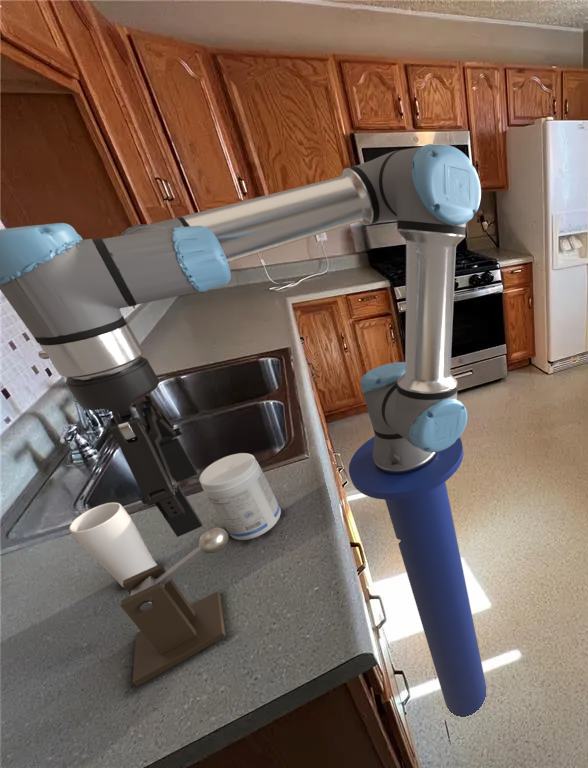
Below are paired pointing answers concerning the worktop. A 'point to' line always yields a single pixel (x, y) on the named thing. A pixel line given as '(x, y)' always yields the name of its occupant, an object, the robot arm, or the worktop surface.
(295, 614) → the worktop surface
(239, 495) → the supplement tub
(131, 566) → the white tapered cylinder
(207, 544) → the tap lever
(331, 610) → the worktop surface
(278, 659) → the worktop surface
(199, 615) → the bracket
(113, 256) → the robot arm
